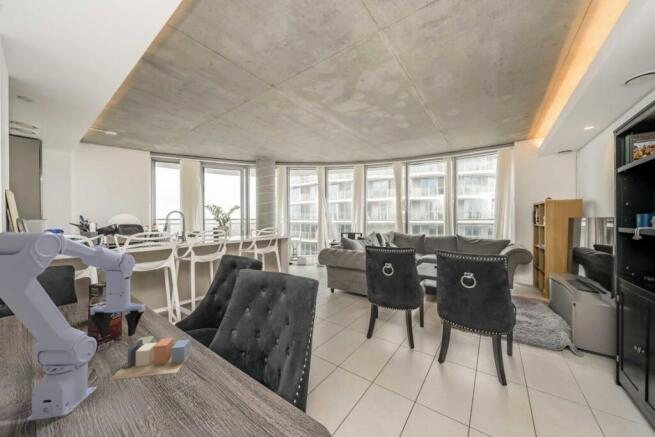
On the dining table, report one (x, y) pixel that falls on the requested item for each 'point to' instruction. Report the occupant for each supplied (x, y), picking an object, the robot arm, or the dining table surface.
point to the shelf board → (148, 370)
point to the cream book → (145, 354)
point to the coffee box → (97, 293)
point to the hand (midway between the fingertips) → (118, 335)
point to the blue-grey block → (180, 350)
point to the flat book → (146, 339)
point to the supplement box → (114, 329)
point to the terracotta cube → (163, 351)
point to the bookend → (132, 354)
